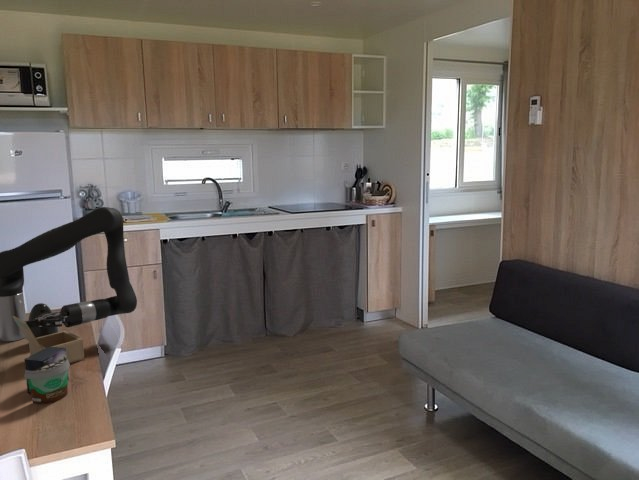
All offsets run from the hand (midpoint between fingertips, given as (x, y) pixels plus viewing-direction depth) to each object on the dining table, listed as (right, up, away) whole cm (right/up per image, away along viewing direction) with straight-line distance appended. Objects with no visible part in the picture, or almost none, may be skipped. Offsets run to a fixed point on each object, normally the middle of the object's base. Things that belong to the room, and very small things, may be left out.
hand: (24, 325), depth 169 cm
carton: (+6, -13, +9) cm, 17 cm away
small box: (+14, -16, -12) cm, 25 cm away
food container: (+20, -18, -20) cm, 33 cm away
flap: (+2, -7, +3) cm, 7 cm away
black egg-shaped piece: (-6, -11, +24) cm, 27 cm away
